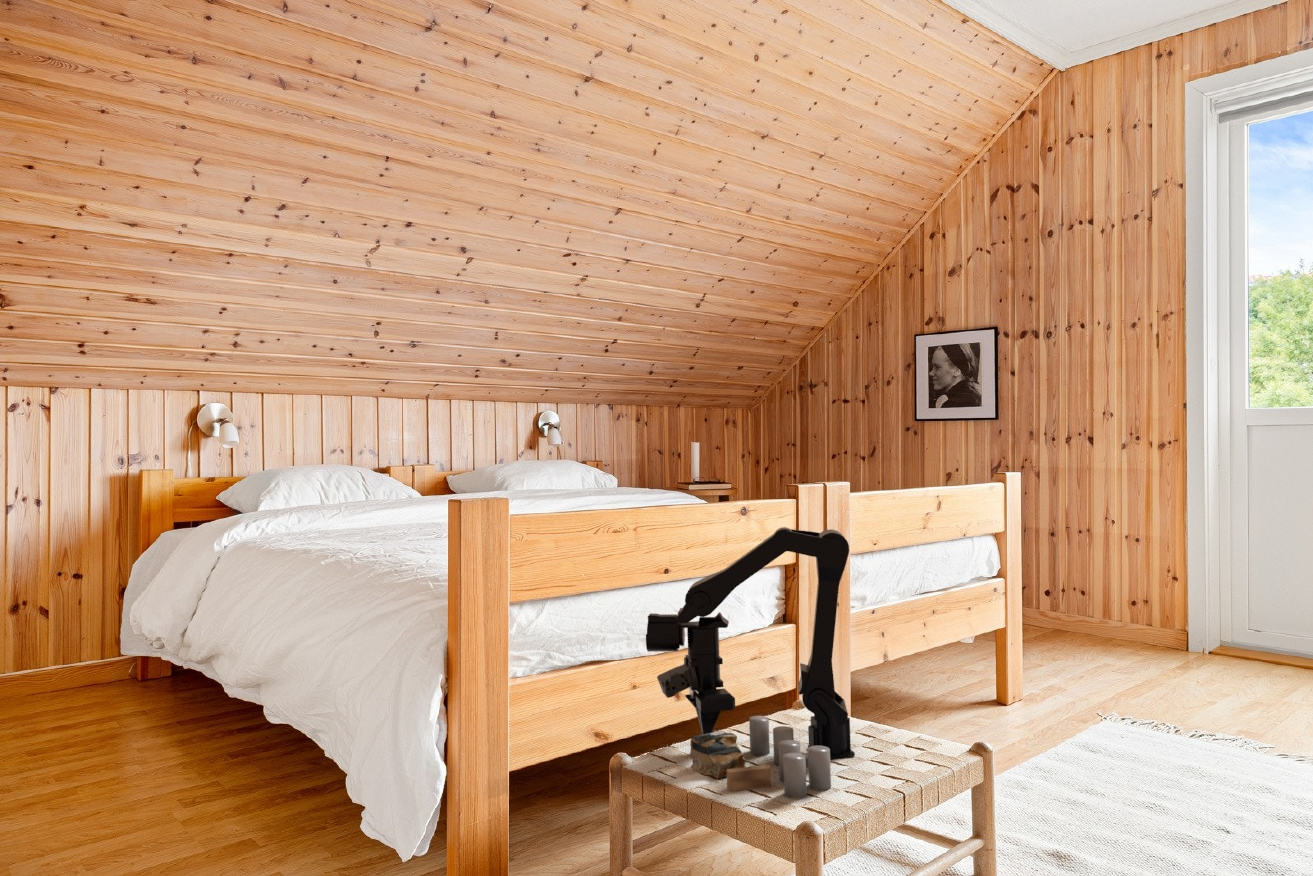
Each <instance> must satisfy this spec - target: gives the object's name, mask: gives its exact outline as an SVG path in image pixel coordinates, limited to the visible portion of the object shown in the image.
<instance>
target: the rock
mask: <svg viewBox="0 0 1313 876" xmlns="http://www.w3.org/2000/svg"><path fill="white" fill-rule="evenodd" d="M737 740H738V736H737V734H734V733H733V732H726V731H723V730H714V731H712V732H711V733H707V734H704V735H702V734H699V735H695V736H692V737H691V738H690V744H689V745H690V746H689V747H690V752H689V754H690V755H689V756H690V758H691V759H692V760H691V761H692V764H691V769H692V770H693V771H694V772H696V773H698V774H703V775H705V776H713V777H715V778H716V779H719V778H723V777H724V778H725V777H727V769H733V768H742V767H746V765H745V763H746V759H745V754H744V753H743V752H742V751H741V749H740V746H739V745H738V744H737Z"/></svg>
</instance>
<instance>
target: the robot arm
mask: <svg viewBox="0 0 1313 876" xmlns="http://www.w3.org/2000/svg"><path fill="white" fill-rule="evenodd" d="M786 552H790V553H795V554H799V555H804V556H808V557H814V558H815V563H816V564H815V565H816V573H817V586H816V587H817V588H816V598H815V609H814V618H813V630H812V639H811V652H810V657H809V659H808V663H807V664H805V663H802V662H800V664H799V667H800V677H799V681H798V683H797V689H798V695H800V696H801V697H802V699H801V700H802V703H803V706H804V707H805V708H806V709H807V710H808V712H809V711H810V713H812V714H813V715H812V716H810V725H808V726H807V728H808V731H807V732H808V745H807V749H808V748H809V747H811V746H826V747H828V748H829V749H830V759H839V758H845V757H854V756H855V755H856V753H855V751H853V750H852V747H851V720H850V717H849V712H848V709H847V705H846V701H845V699H844V698H842V697H843V696H841V695H840V694H839V693H838V692H836V690H835V680H834V679H835V678H834V670H833V669H834V668H833V655H834V654H833V651H834V642H835V630H836V621H837V619H836V618H837V610H838V609H837V608H838V599H839V590H840V589H839V587H840V583H841V580H842V578H843V574H844V571H845V568H846V565H847V561H848V558H849V554H850V545H849V542H848V540H847V539H846V537H845V536H844V535H843V533H841V532H840V531H838V530H835V529H832V528H831V529H825V530H823V531H821V532H816V531H810V530H800V529H792V528H789V527H786V526H784V527H779V528H777V529H776V530H775V531H774V533H773V534H772V535H770V536H769V537H767V538H766V539H765V540H763V541H762V542H760V543H758V544H757V545H756V546H755V547H753V548H752V549H750V550H749V551H748V552H746V553H745V554H743V555H742V556H741V557H739V558H738V559H737V560H735V561H733V562H732V563H731V564H730V565H728V566H727V567H726V568H724V569H722V570H721V569H720V570H719V571H717V572H714V573H711V574H709V575H708V576H704V577H703V578H701V579H699V580H697V581H695V582H693V584H692V585H691V586H690V587H689V589H688V590H687V592H686V594H685V597H684V602H685V604H684V605H683V607H680V608H679V610H678V611H677V614H674V613H673V614H671V613H670V614H660V613H653V612H652V613H649V614H648V616H647V624H646V625H647V626H646V633H645V646H646V650H647V652H679V651H680V650H679V649H680V648H681V647H684V646H685V640H686V635H685V634H686V631H685V630H687V654H685V657H683V664H680V665H679V666H675V667H673V668H671V669H669V670H667V671H665V672H662V673H660V674H658V675H657V677H656V679H657V682H658V684H659V686H660V689H661V691H662V693H663V695H664V696H665V697H666V698H667V699H671V698H672V697H675V696H676V694H679V693H680V692H684V691H685V690H689V691H688V693H689V694H686V695H684V696H685V698H686V699H687V701H689V702H690V704H691V705H692V706H693V707H694V708H695V712H696V715H697V719H698V722H699V727H700V730H701V735H704V734H707V733H711V732H713V730H714V728H715V725H716V723H717V721H718V718H719V716H720V714H721V712H726V711H734V710H736V698H735V697H734V696H733V695H732V694H731V693H730V692H728V690H727V689H726V688H724V681H723V680H722V679H721V668H720V667H721V665H723V664H724V663H723V658H722V657H721V655H720V637H719V636H720V635H719V630H720V629H722V628H723V629H727V628H728V627H729V623H730V621H729V620H728V619H727V618H725V617H724V615H723V614H722V612H718V613H717V614H716V615H714V616H710V615H711V614H712V613H713V612H715V610H716V609H717V608H718V607H719V606H720V605H721V604H722V603H723V602H725V600H726V599H727V597H728V596H729V595H730V594H731V593H732V592H733V591H734V590H735V589H736V588H737V587H738V586H740V585H741V584H742V583H744V582H745V581H747V580H748V579H749V578H751V577H752V576H753V575H755V574H756V573H758V572H759V571H761V570H762V569H763V568H765V567H766V566H768V565H769V564H771V563H772V562H773V561H775V560H776V559H777V558H779V557H780V556H781V555H783V554H784V553H786ZM697 617H699V619H698V620H697V621H693V620H694V619H695V618H697Z"/></svg>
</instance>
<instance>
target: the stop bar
mask: <svg viewBox="0 0 1313 876" xmlns="http://www.w3.org/2000/svg"><path fill="white" fill-rule="evenodd" d="M771 770H772V768H771V766H769V765H768V764H761V765H752V766H745V767H742V768H733V769H727V776H726V787H727V789H728V791H729V792H735V791H743V790H750V789H751V790H752V789H760V788H768V787H772V772H771Z"/></svg>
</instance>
